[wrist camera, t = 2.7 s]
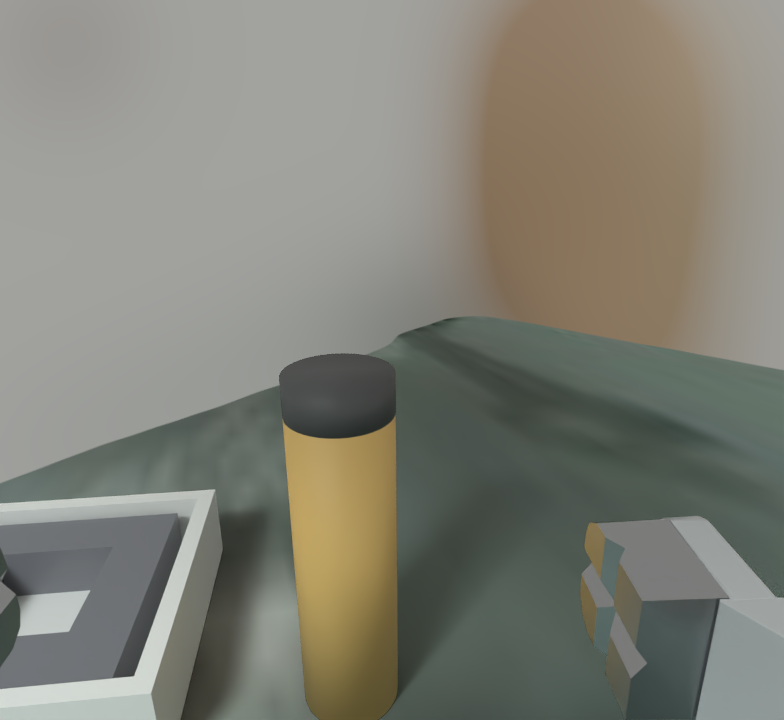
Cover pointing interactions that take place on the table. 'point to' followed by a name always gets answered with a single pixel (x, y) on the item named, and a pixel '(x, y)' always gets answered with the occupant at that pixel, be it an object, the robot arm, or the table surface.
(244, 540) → the table surface
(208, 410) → the table surface
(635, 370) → the table surface
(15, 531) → the walled box
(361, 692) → the cylinder
